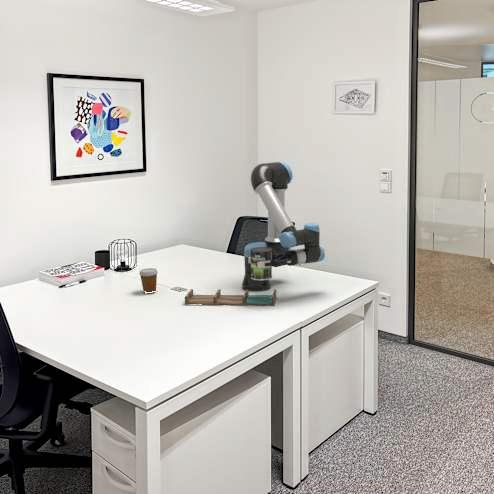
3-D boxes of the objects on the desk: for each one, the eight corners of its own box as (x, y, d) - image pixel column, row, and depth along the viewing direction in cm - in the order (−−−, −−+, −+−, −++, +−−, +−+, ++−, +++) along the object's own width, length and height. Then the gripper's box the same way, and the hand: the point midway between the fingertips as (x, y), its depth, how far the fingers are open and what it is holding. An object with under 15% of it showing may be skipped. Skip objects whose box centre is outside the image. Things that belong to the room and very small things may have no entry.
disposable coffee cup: (155, 295, 306) (153, 272, 303) (137, 294, 308) (136, 272, 305) (161, 290, 315) (160, 268, 312) (144, 289, 317) (143, 267, 314)
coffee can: (268, 281, 280) (267, 252, 277) (247, 279, 284) (247, 251, 281) (275, 275, 289) (274, 247, 286) (255, 274, 293) (254, 246, 290)
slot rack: (191, 296, 301) (191, 289, 300) (276, 297, 295) (276, 289, 294) (185, 305, 287) (184, 297, 286) (274, 305, 281) (273, 297, 281)
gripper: (305, 269, 282) (263, 275, 274) (284, 260, 303) (244, 265, 294) (305, 254, 281) (263, 259, 272) (284, 245, 301) (243, 250, 292)
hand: (253, 262), depth 283 cm, fingers closed on coffee can, 10 cm apart
